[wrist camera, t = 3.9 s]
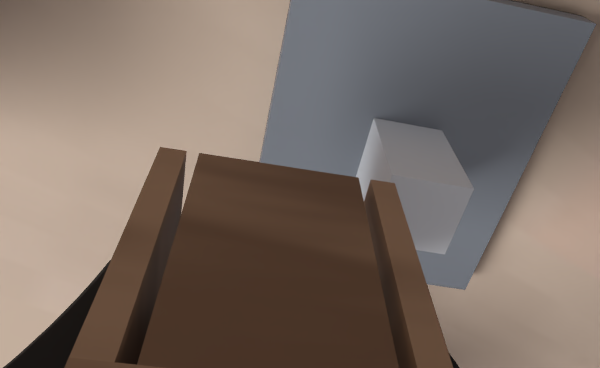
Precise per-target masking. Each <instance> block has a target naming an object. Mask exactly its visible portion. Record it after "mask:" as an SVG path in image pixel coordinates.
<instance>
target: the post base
mask: <svg viewBox="0 0 600 368" xmlns="http://www.w3.org/2000/svg"><path fill="white" fill-rule="evenodd" d="M595 26H596V24H595V23H594V22H592V21H590V20H588V19H586V18H585V17H583V16H579V15H575V14H570V13H566V12H561V11H557V10H552V9H547V8H543V7H538V6H534V5H529V4H525V3H520V2H516V1H511V0H290V5H289V10H288V15H287V21H286V26H285V31H284V36H283V42H282V47H281V52H280V57H279V63H278V68H277V73H276V78H275V83H274V89H273V94H272V99H271V104H270V110H269V115H268V120H267V125H266V131H265V136H264V141H263V146H262V152H261V157H260V163H267V164H273V165H280V166H287V167H293V168H300V169H306V170H313V171H319V172H326V173H332V174H339V175H345V176H352V177H358V178H359V182H360V186H361V191H362V196H363V201H364V200H365V197H366V193H367V190H368V187H369V184H370V180H378V181H384V182H391V183H395V185H396V189H397V192H398V195H399V198H400V201H401V204H402V207H403V211H404V214H405V217H406V220H407V223H408V226H409V230H410V233H411V236H412V239H413V242H414V245H415V248H416V252H417V255H418V258H419V261H420V264H421V267H422V271H423V274H424V277H425V280H426V283H427V284H429V285H436V286H443V287H450V288H457V289H463V290H465V289H466V287H467V285H468V283H469V281H470V279H471V277H472V275H473V273H474V271H475V269H476V267H477V264H478V262H479V260H480V258H481V256H482V254H483V252H484V250H485V248H486V246H487V244H488V242H489V240H490V238H491V236H492V234H493V232H494V230H495V228H496V226H497V224H498V222H499V220H500V218H501V216H502V214H503V212H504V210H505V208H506V206H507V204H508V202H509V200H510V198H511V196H512V194H513V192H514V190H515V188H516V186H517V184H518V182H519V179H520V177H521V175H522V173H523V171H524V169H525V167H526V165H527V163H528V161H529V159H530V157H531V155H532V153H533V151H534V149H535V147H536V145H537V143H538V141H539V139H540V137H541V135H542V133H543V131H544V129H545V127H546V125H547V123H548V121H549V119H550V117H551V115H552V113H553V111H554V109H555V107H556V105H557V103H558V101H559V99H560V97H561V94H562V92H563V90H564V88H565V86H566V84H567V82H568V80H569V78H570V76H571V74H572V72H573V70H574V68H575V66H576V64H577V62H578V60H579V58H580V56H581V54H582V52H583V50H584V48H585V46H586V44H587V42H588V40H589V38H590V36H591V34H592V32H593V30H594V28H595Z"/></svg>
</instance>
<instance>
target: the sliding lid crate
mask: <svg viewBox="0 0 600 368" xmlns="http://www.w3.org/2000/svg"><path fill="white" fill-rule="evenodd" d="M185 162H186V151H182V150H176V149H169V148H163V147H160V149H159V151H158V153H157V156H156V158H155V160H154V162H153V165H152V167H151V169H150V172H149V174H148V176H147V179H146V181H145V183H144V186H143V188H142V190H141V192H140V195H139V197H138V199H137V202H136V204H135V206H134V209H133V211H132V213H131V215H130V218H129V220H128V222H127V225H126V227H125V229H124V232H123V234H122V236H121V238H120V241H119V243H118V245H117V248H116V250H115V252H114V255H113V257H112V259H111V262H110V264H109V266H108V268H107V271H106V273H105V275H104V278H103V280H102V282H101V285H100V287H99V289H98V291H97V294H96V296H95V298H94V301H93V303H92V305H91V308H90V310H89V312H88V315H87V317H86V319H85V321H84V324H83V326H82V328H81V331H80V333H79V335H78V338H77V340H76V342H75V344H74V347H73V349H72V351H71V354H70V356H69V358H68V361H67V363H66V365H65V367H64V368H453V365H452V362H451V359H450V356H449V353H448V349H447V346H446V343H445V340H444V337H443V334H442V330H441V327H440V324H439V321H438V318H437V315H436V312H435V308H434V305H433V302H432V299H431V296H430V293H429V289H428V286H427V283H426V280H425V277H424V274H423V271H422V267H421V264H420V261H419V258H418V255H417V252H416V248H415V245H414V242H413V239H412V236H411V233H410V230H409V226H408V223H407V220H406V217H405V214H404V211H403V207H402V204H401V201H400V198H399V195H398V192H397V189H396V185H395V183H391V182H384V181H378V180H370V184H369V187H368V190H367V193H366V197H365V200H364V201H363V196H362V191H361V186H360V182H359V178H358V177H352V176H345V175H339V174H332V173H326V172H319V171H313V170H306V169H300V168H293V167H287V166H280V165H273V164H267V163H260V162H254V161H247V160H241V159H234V158H228V157H221V156H215V155H208V154H202V153H199V156H198V160H197V163H196V167H195V170H194V173H193V177H192V180H191V183H190V187H189V190H188V194H187V197H186V200H185V204H184V207H183V211H182V214H181V209H182V197H183V186H184V174H185Z"/></svg>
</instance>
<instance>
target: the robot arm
mask: <svg viewBox="0 0 600 368" xmlns="http://www.w3.org/2000/svg"><path fill="white" fill-rule="evenodd" d="M110 262H111V260H110V261H109V262H108V263H107V265H106V266H105V267H104V268H103V270H102V271H101V272H100V273H99V274H98V275H97V277H96V278H95V279H94V280H93V281H92V282H91V284H90V285H89V286H88V287H87V288H86V289H85V290H84V291H83V292H82V293H81V295H80V296H79V297H78V298H77V299H76V300H75V301H74V302H73V303H72V304H71V305H70V306H69V307H68V308H67V309H66V310H65V311H64V312H63V313H62V314H61V315H60V316H59V317H58V318H57V319H56V320H55V321H54V322H53V323H52V324H51V325H50V326H49V327H48V328H47V329H46V330H45V331H44V332H43V333H42V334H41V335H40V336H38V337H37V338H36V339H35V340H34V341H33V342H32V343H31V344H30V345H29V346H28V347H26V348H25V349H24V350H23V351H22V352H21V353H20V354H19V355H18V356H16V357H15V358H14V359H13V360H12V361H11V362H9V363H8V364H7V365H6V366H5V367H3V368H64V367H65V365H66V363H67V361H68V358H69V356H70V354H71V351H72V349H73V347H74V344H75V342H76V340H77V338H78V335H79V333H80V331H81V328H82V326H83V324H84V321H85V319H86V317H87V315H88V312H89V310H90V308H91V305H92V303H93V301H94V298H95V296H96V294H97V291H98V289H99V287H100V285H101V282H102V280H103V278H104V275H105V273H106V271H107V268H108V266H109V264H110ZM448 353H449V352H448ZM449 356H450V359H451V362H452V365H453V368H459V366H458V365H457V364H456V362H455V361H454V359H453V358H452V357H451V355H450V354H449Z"/></svg>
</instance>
